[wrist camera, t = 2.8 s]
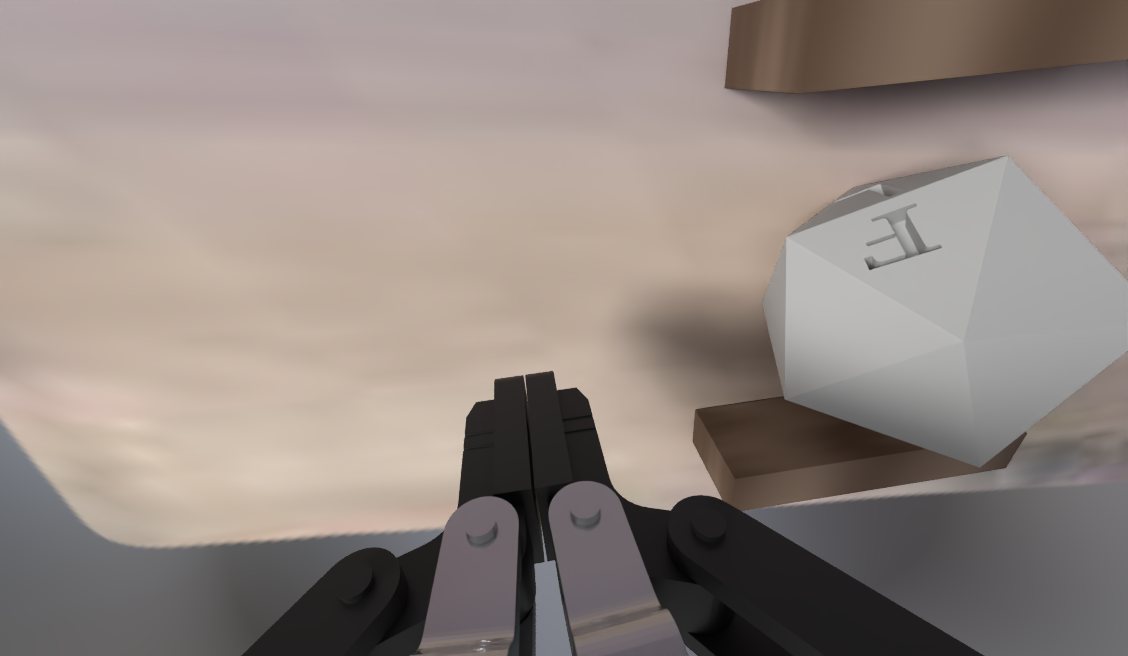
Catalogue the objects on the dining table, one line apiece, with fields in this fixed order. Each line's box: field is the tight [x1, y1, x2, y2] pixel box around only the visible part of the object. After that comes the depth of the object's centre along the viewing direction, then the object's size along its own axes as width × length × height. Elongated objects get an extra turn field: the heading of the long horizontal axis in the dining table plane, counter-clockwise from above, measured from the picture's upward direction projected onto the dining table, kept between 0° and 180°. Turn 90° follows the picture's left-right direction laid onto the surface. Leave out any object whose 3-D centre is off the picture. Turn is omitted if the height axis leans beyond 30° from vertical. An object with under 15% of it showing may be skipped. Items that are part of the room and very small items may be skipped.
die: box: [762, 155, 1128, 468], centre depth 14 cm, size 8×9×10 cm
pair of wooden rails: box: [693, 0, 1128, 511], centre depth 16 cm, size 12×17×4 cm
